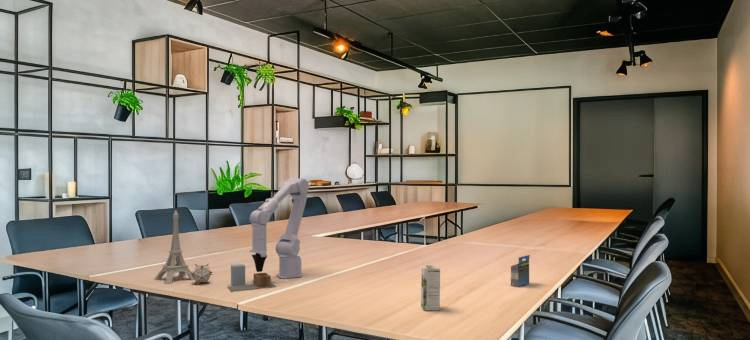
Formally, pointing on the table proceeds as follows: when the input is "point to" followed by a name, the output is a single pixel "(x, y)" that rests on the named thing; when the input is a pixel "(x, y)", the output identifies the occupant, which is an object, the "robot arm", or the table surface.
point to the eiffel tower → (174, 258)
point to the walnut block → (262, 279)
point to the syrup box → (430, 288)
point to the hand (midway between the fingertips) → (259, 271)
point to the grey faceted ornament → (201, 273)
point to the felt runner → (247, 287)
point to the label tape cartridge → (520, 272)
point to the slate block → (237, 274)
